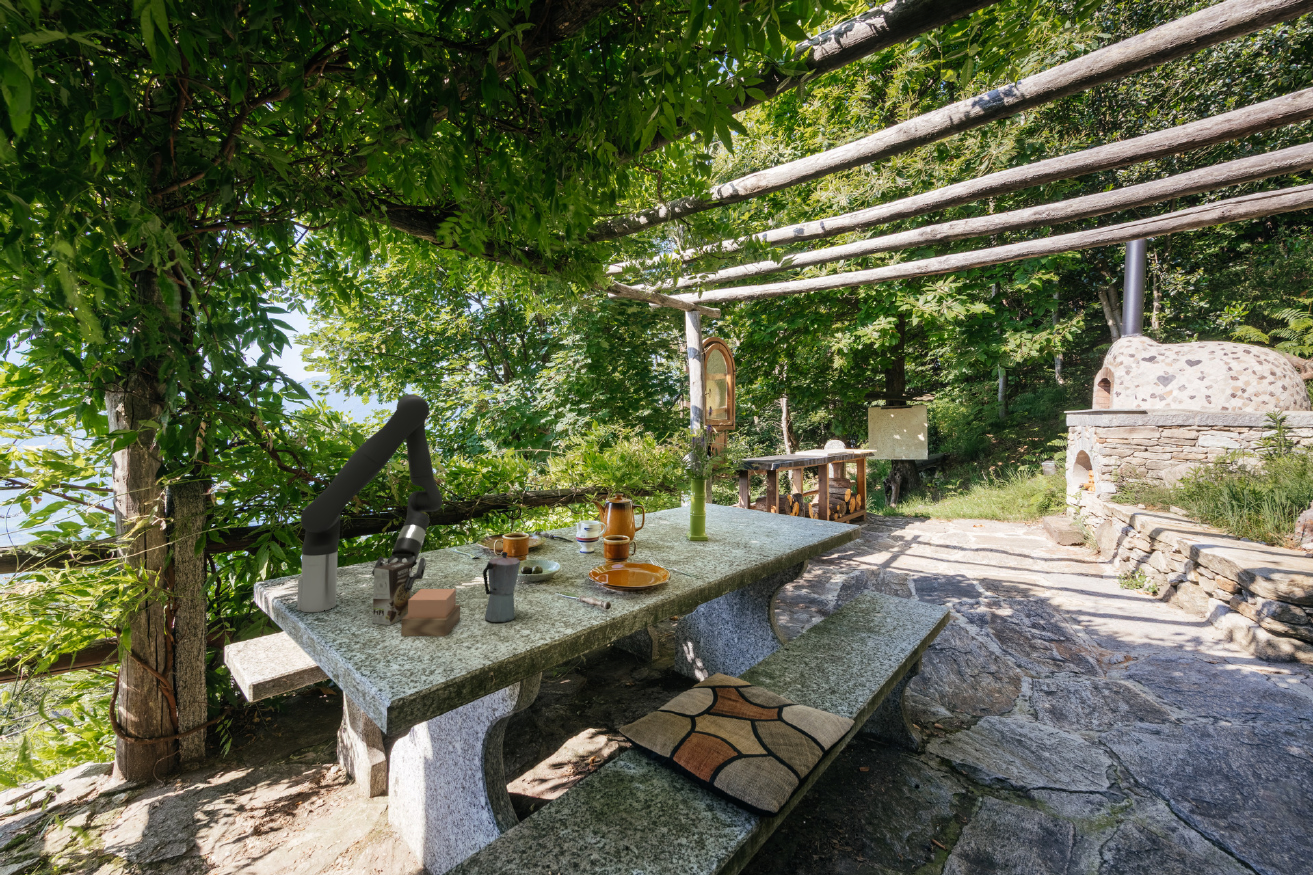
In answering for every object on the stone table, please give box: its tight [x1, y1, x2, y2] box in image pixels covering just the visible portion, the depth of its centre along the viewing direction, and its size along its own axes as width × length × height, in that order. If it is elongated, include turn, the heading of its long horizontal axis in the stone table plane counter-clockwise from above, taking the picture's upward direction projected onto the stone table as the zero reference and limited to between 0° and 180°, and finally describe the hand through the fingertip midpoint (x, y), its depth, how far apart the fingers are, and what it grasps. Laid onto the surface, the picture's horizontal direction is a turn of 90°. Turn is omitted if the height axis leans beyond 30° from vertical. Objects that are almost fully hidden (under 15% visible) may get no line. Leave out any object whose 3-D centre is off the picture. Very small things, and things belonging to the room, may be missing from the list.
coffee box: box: [371, 562, 413, 626], centre depth 154 cm, size 9×6×16 cm
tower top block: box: [408, 588, 457, 618], centre depth 148 cm, size 10×10×5 cm
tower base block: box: [400, 604, 461, 637], centre depth 148 cm, size 12×12×5 cm
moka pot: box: [482, 551, 521, 623], centre depth 157 cm, size 10×15×20 cm, turn 161°
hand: (391, 590), depth 153 cm, fingers open, 8 cm apart
